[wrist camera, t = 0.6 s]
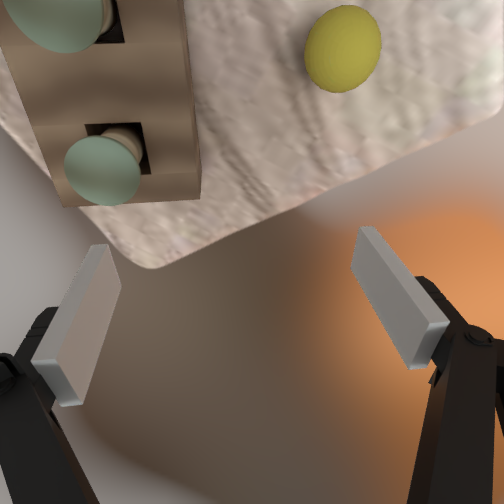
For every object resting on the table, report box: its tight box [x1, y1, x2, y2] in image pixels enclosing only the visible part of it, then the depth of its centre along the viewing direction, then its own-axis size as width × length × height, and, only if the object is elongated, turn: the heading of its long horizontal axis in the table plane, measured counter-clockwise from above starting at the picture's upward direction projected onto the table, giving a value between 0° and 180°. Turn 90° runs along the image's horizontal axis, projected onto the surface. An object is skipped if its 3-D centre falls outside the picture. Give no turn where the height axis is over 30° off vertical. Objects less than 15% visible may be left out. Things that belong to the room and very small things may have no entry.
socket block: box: [0, 0, 202, 207], centre depth 31 cm, size 22×14×8 cm, turn 1°
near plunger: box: [2, 0, 117, 53], centre depth 23 cm, size 6×6×8 cm
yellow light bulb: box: [304, 5, 381, 93], centre depth 30 cm, size 7×7×10 cm
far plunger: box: [64, 124, 145, 206], centre depth 29 cm, size 6×6×8 cm
